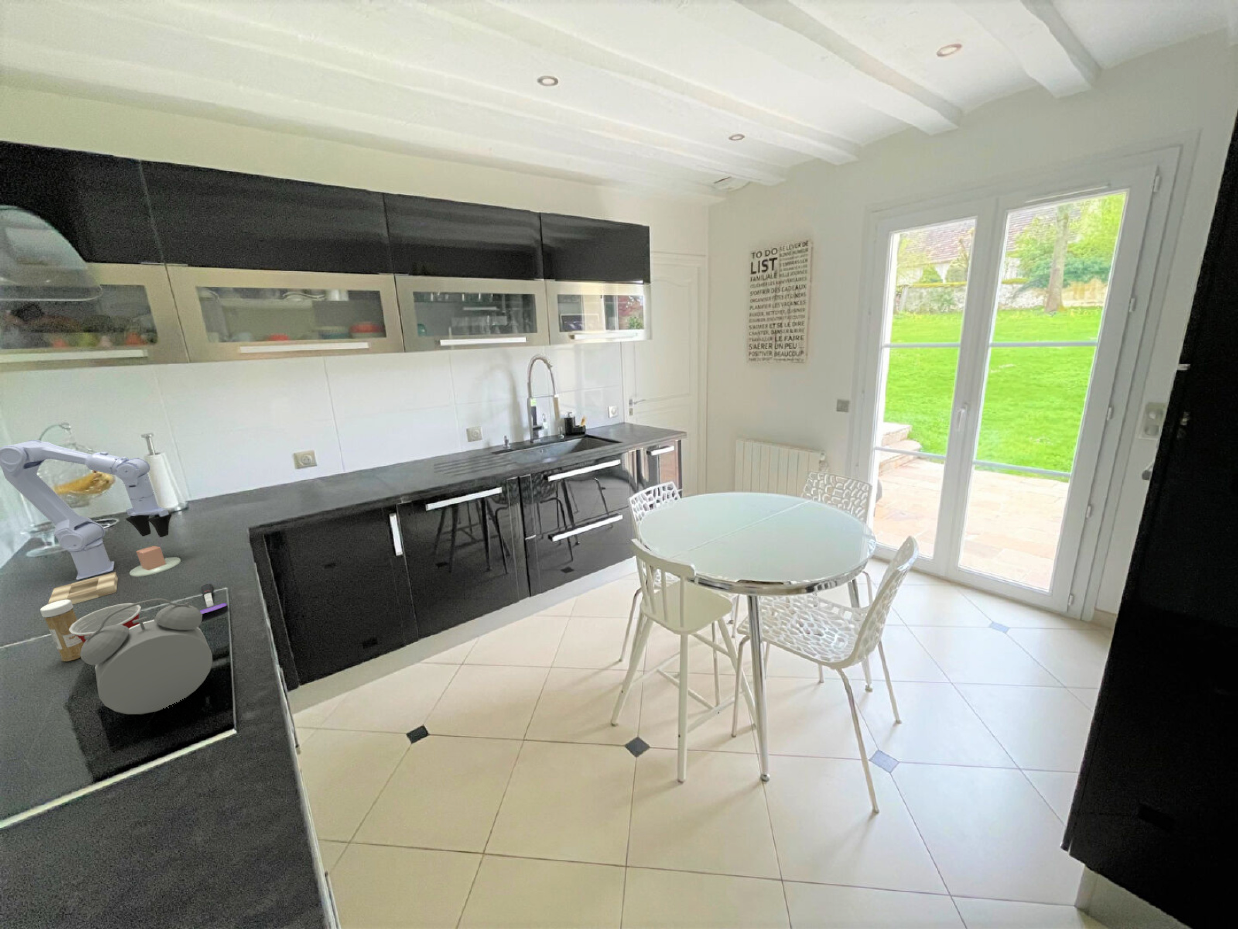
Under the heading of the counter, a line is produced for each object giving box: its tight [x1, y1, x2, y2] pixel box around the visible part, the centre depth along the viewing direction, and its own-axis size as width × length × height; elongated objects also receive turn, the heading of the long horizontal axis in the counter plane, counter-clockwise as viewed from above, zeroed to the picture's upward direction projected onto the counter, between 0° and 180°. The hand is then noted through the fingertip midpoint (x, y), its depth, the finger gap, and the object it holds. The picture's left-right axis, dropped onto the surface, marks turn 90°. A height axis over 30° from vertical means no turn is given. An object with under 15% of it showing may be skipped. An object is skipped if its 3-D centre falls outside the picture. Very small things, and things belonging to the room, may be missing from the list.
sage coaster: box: [129, 556, 181, 578], centre depth 153 cm, size 12×12×1 cm
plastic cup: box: [69, 602, 142, 643], centre depth 103 cm, size 11×11×12 cm
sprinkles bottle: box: [39, 600, 84, 662], centre depth 107 cm, size 5×5×13 cm
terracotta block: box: [135, 545, 166, 570], centre depth 151 cm, size 4×4×6 cm
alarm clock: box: [80, 597, 213, 715], centre depth 89 cm, size 16×9×22 cm, turn 139°
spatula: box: [199, 583, 228, 615], centre depth 130 cm, size 24×7×2 cm, turn 43°
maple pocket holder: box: [47, 571, 119, 606], centre depth 138 cm, size 13×13×2 cm
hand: (155, 535), depth 154 cm, fingers open, 7 cm apart
